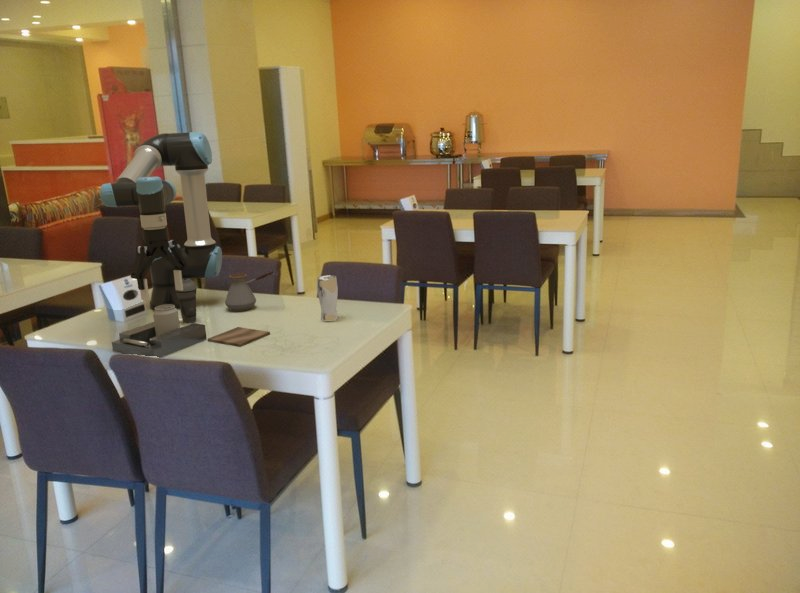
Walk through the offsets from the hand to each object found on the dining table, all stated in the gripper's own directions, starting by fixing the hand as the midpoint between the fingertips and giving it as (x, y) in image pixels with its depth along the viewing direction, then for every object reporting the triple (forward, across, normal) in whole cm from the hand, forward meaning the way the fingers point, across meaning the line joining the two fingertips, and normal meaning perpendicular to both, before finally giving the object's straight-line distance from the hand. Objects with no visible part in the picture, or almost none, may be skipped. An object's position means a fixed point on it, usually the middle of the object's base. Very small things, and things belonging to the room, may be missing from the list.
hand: (162, 294), depth 219 cm
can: (+16, 0, 0) cm, 16 cm away
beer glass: (+16, +42, -33) cm, 56 cm away
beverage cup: (+16, +20, +12) cm, 29 cm away
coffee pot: (+16, +42, +2) cm, 45 cm away
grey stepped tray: (+16, -3, 0) cm, 16 cm away
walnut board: (+16, +13, -18) cm, 27 cm away
